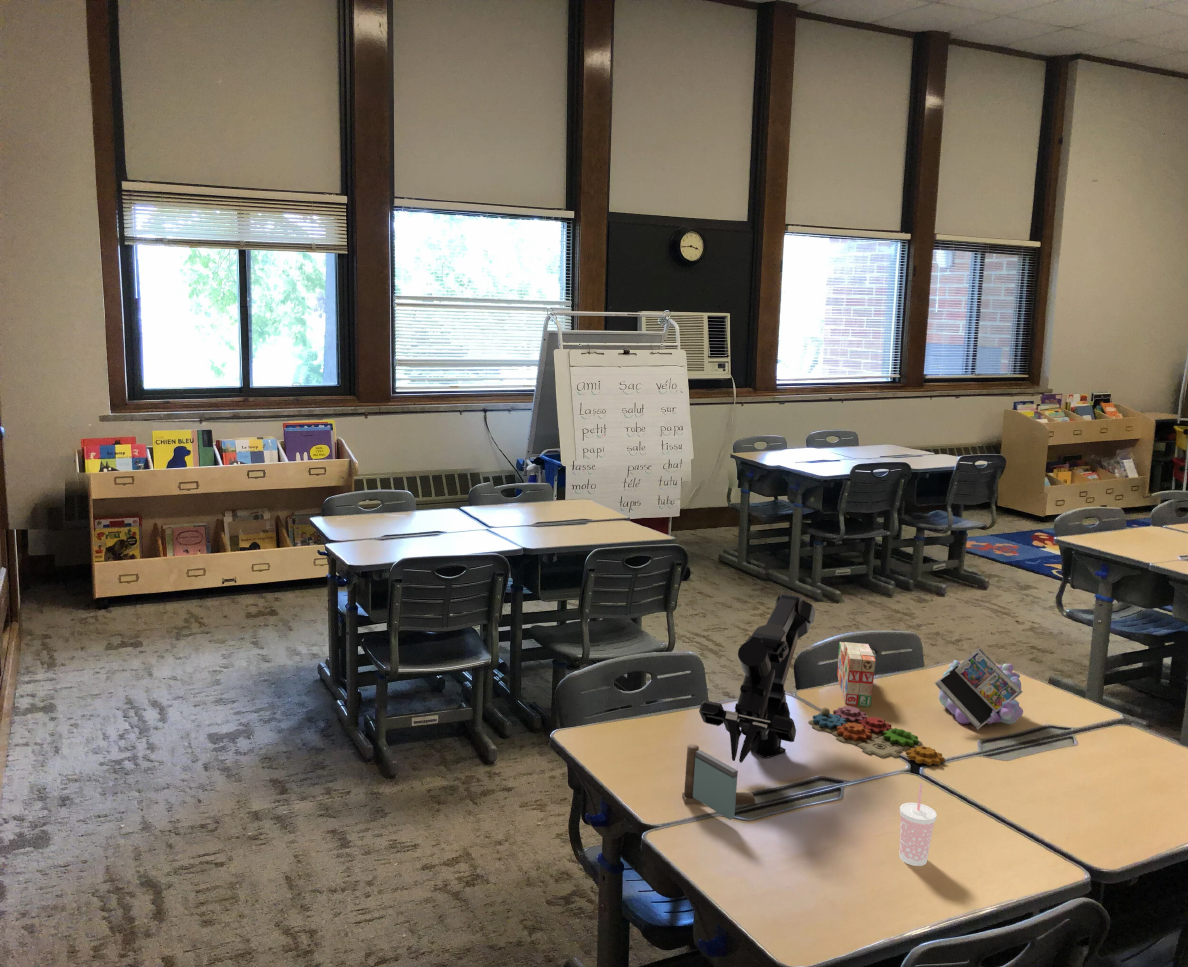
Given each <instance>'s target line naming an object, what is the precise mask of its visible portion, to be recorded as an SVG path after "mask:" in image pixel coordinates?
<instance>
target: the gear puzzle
mask: <svg viewBox="0 0 1188 967" xmlns="http://www.w3.org/2000/svg"><path fill="white" fill-rule="evenodd" d="M808 724H809V725H810V726H811V728H812V729H813V730H815V731H817V732H821V731H822V732H826V733H827V734H832V736H834V737H835V740H836V741H838V742H840V743H842V744H845V743H848V744H851V745H852V746H856V747H858V748H859V749H861V753H864V754H865V755H868V756H872V755H874V756H875V757H878V758H880V759H887V758H889V757H892V758H893V759H896V758H899V757H901V754H900V753H902V752H905V755H906V756H907V760H912V761H915V763H916V764H925V765H927V766H931V765H932V764H933V765H937V766H940V765H941V763H944V762H946V760H945V757H943V753H941V752H937V751H936V749H934V748H931V746H925V745H923V742H922V741H920V740H919V737H918V735H915V734H912V732H910V731H906V730H905V729H903V728H897V727H894V728H892V724H891V723H889V722H888V723H887V722H886V721H885V720H884V719H882V718H881V717H876V716H872V717H871V716H867V713H866V712H863V711H861V710H860V708H857V707H856V706H852V705H847V706H846V705H843V706H842V707H838V708H837V709H834V710H833V712H832V713H831V711H830V709H829V708H828V707H823V708H822V709H821V711H820V712H819V713H818V714H816V715H815V714H814V715H812V719H811V720H808Z"/></svg>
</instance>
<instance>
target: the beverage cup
mask: <svg viewBox="0 0 1188 967" xmlns="http://www.w3.org/2000/svg"><path fill="white" fill-rule="evenodd" d="M922 791H923V783H919V788H918V796H917V802H906V803H905V802H904V803H903V804H901V805H900V806H899V814H900V825H899V826H900V830H899V833H900V834H899V859H900V861H902V862H904V863H905V864H908V865H911V866H914V867H921V866H922V867H923V866H924V865H926V864H927V862H928V856H929V852H930V846H931V842H932V841H931V840H932V835H933V830H934V824H935V822H936V821H937V815H938V814H937V811H936V810H934V809H933V808H932V807H930V806H928V805H927V804H923V803H922V793H923V792H922Z"/></svg>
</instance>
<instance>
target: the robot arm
mask: <svg viewBox="0 0 1188 967" xmlns="http://www.w3.org/2000/svg"><path fill="white" fill-rule="evenodd" d="M815 616H816V609H815V607H814V605H813V604H812V603H811V602H807V600H806V601H805V600H804V599H803V598H802V597H801V596H799V595H795V594H788V593H779V594H778V596H777V598H776V600H775V605H774V608H773V610H772V612H771V614H770V616H769V618H768V619H767V622H766V623H765V624H763V625H761V626H757V627H756V629H755V630H754V631H753V633H752V635H749V637H748V638H747V639H746V641H745V642H744V643H743V644H741V645H740V647H739V648H738V650H737V657H738V660H739V663H740V666H741V669H742V672H743V674H744V677H743V681H742V684H741V685H740V688H739V690H740V691H739V695H738V700H737V703H735V705H734V709H735V710H734V711H730V710H725V709H724V707H723V704H722V703H720V702H715V701H712V700H711V701H710V700H704V701H702V702H701V704H700V707H699V710H698V712H699V714H700V716H701V719H702V721H703V722H704V723H705V724H707V725H712V726H716V727H719V726H721V725H724V727H725V729H726V730H725V731H727V732H729V739H730V740H729V741H730V750H731V759H732V761H733V762H735V761H736V758H737V756H738V755H737V754H738V749H739V742H740V737H741V735H743V736H745V737H744V740H743V743H742V747H741V750H740V753H739V754H740V755H739V759H738V761H739V763H741V764H742V763H743V762H744V760H746V758H747V757H748V755H749V753H750V752H753V753H755V754H757V755H759V756H761V757H763V758H764V759H767V758H770V757H773V756H777V755H780V754H784V753H785V752H786V748H784V747H783V746H782V745H781V744H782V741H784V742H789V743H793V742H795V738H796V734H797V729H796V724H795V721H794V719H793V718H791V712H790V708H789V704H788V702H787V695H786V690H785V684H786V680H787V678H788V674H789V670H790V667H791V664H792V660H793V657H794V654H795V651H796V648H797V645H798V640H799V639H801V638H802V637H803V636H805V635H807V634H808V632H809V629H810V627H811V624H812V625H813V623H814V622H815Z"/></svg>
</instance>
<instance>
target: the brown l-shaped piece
mask: <svg viewBox="0 0 1188 967" xmlns="http://www.w3.org/2000/svg"><path fill="white" fill-rule="evenodd" d="M698 750H700V747H699V745H697V744H694V743H693V744H692V743H691V744H688V745H687V749H686V762H685V776H684V777H685V778H684V792H682V795H681V797H682V801H683V803H684V804H685V805H704V804H703V803H701V802H700V801H698V800H697V799H695V798H693V784H694V770H695V755H696V751H698ZM740 804H741V805H745V804H746V805H748V804H749V805H755V804H756V797H755V796H754V794H753V793H752V792H738V791H736V801H735V805H740Z"/></svg>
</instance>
